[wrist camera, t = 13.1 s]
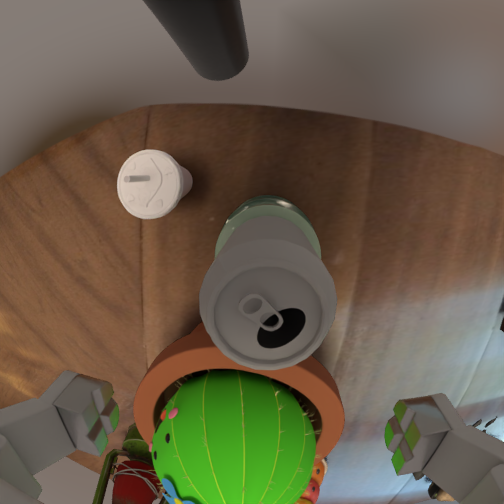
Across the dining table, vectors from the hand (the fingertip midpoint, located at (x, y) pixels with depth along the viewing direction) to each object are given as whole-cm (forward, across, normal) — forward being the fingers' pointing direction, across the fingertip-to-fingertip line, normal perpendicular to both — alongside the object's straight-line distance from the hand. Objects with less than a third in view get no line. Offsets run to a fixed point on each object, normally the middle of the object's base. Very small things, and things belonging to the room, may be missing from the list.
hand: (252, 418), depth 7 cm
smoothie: (+30, +10, -5) cm, 32 cm away
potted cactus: (+29, +2, +19) cm, 35 cm away
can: (+19, 0, +1) cm, 19 cm away
